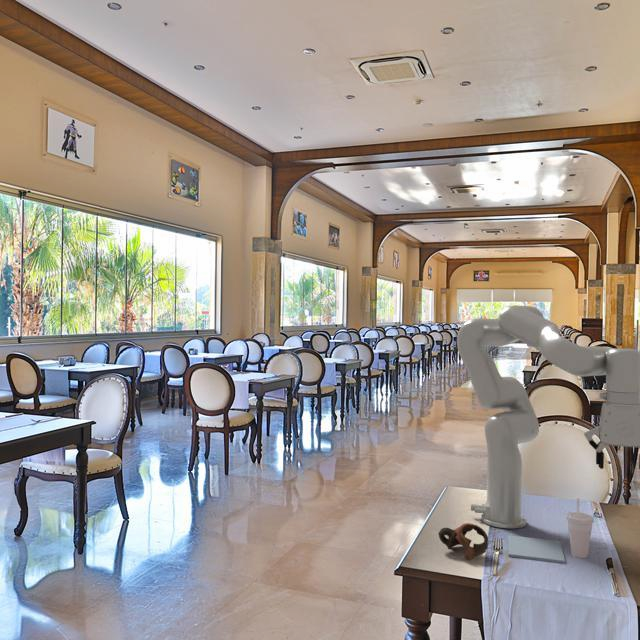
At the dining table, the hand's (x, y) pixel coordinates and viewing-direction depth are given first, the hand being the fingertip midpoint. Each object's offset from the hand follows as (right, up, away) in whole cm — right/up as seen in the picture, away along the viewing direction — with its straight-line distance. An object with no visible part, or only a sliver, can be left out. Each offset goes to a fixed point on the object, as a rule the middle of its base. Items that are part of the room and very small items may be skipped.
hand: (621, 469), depth 149 cm
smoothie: (-9, -22, +2) cm, 24 cm away
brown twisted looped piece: (-38, -22, +2) cm, 44 cm away
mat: (-19, -22, +5) cm, 30 cm away
